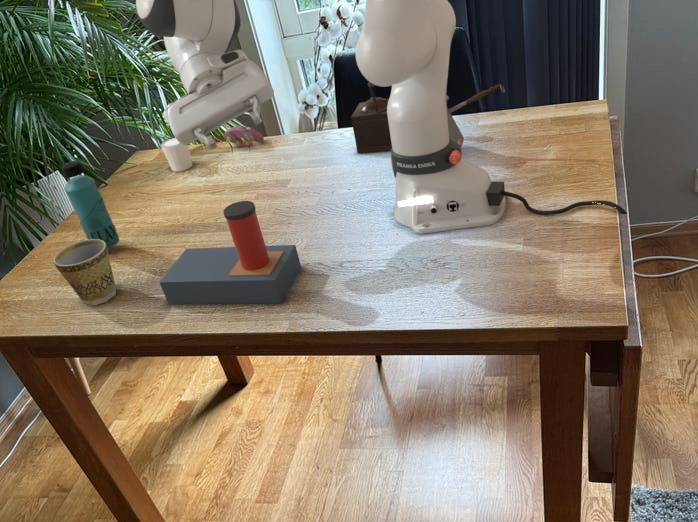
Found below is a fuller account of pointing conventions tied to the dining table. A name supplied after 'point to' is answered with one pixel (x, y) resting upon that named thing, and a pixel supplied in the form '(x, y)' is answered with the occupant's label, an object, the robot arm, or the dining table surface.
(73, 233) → the dining table surface
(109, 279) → the ceramic cup
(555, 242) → the dining table surface
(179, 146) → the white short cylinder
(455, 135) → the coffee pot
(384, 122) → the manual coffee grinder
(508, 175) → the dining table surface
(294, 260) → the platform
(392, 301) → the dining table surface
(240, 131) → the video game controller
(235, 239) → the red canister
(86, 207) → the beverage bottle
